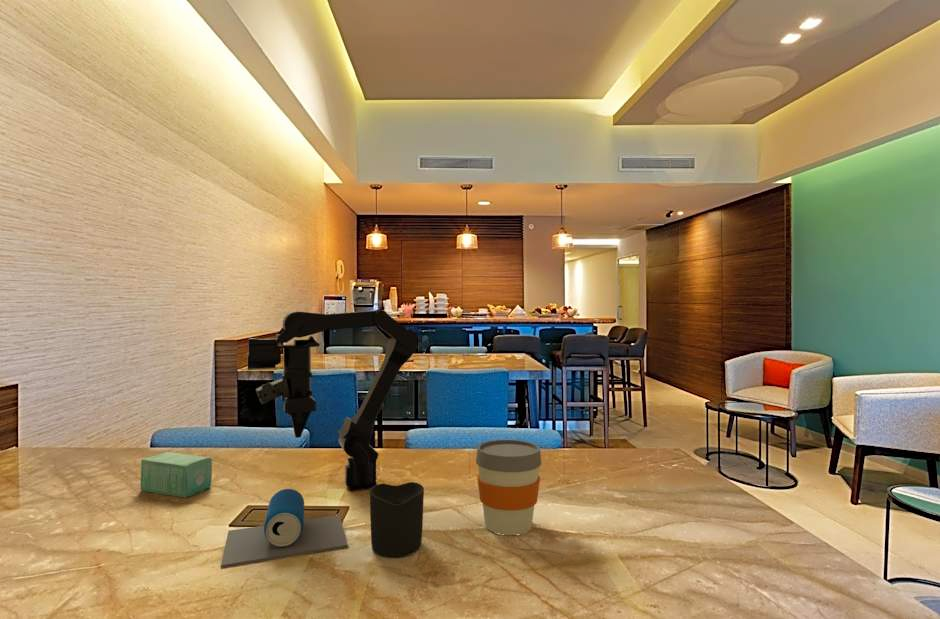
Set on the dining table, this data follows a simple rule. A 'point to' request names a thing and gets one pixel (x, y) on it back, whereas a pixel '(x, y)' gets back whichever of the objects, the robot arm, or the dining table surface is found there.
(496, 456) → the reusable coffee cup
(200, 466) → the box
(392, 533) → the pen holder
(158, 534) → the dining table surface
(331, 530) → the mat
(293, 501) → the beverage can
